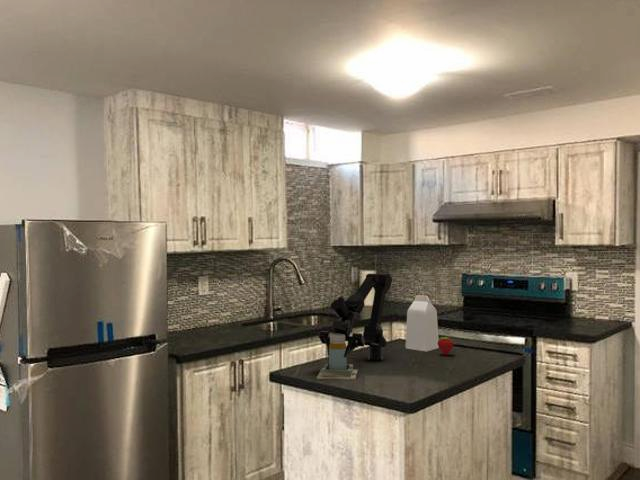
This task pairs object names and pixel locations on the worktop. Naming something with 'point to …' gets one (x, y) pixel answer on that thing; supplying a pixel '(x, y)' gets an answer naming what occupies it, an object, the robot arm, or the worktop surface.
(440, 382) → the worktop surface
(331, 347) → the bottle
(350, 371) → the square rimmed tray
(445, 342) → the strawberry
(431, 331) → the milk
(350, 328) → the robot arm
